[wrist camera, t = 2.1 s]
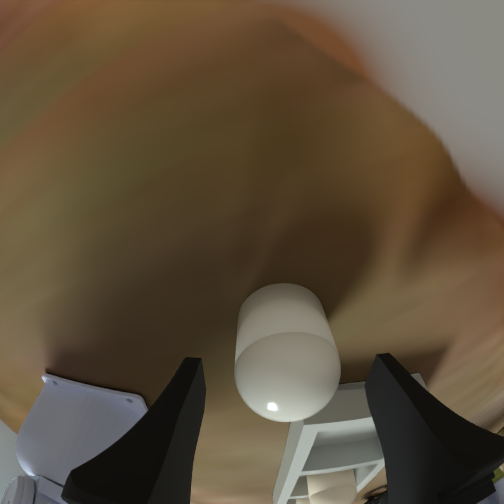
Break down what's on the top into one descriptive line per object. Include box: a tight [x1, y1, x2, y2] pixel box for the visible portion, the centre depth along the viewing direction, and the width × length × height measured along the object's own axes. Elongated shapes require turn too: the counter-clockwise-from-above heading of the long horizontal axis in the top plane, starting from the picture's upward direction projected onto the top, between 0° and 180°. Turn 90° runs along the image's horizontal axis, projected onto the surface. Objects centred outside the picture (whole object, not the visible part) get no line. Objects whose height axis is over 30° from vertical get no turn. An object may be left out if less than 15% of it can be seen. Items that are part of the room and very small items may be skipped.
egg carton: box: [273, 373, 429, 504], centre depth 19 cm, size 9×25×6 cm, turn 179°
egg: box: [234, 283, 341, 422], centre depth 12 cm, size 4×4×6 cm
